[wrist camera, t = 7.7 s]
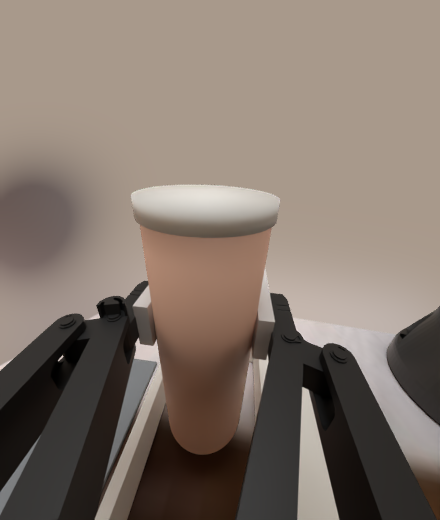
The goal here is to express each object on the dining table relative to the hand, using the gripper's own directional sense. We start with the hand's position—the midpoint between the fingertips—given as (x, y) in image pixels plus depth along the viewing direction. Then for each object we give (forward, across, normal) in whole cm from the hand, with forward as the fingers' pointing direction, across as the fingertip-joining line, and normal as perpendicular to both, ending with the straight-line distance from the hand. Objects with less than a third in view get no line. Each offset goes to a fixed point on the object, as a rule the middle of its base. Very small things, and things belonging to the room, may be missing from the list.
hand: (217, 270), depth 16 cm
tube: (-5, 0, -10) cm, 11 cm away
